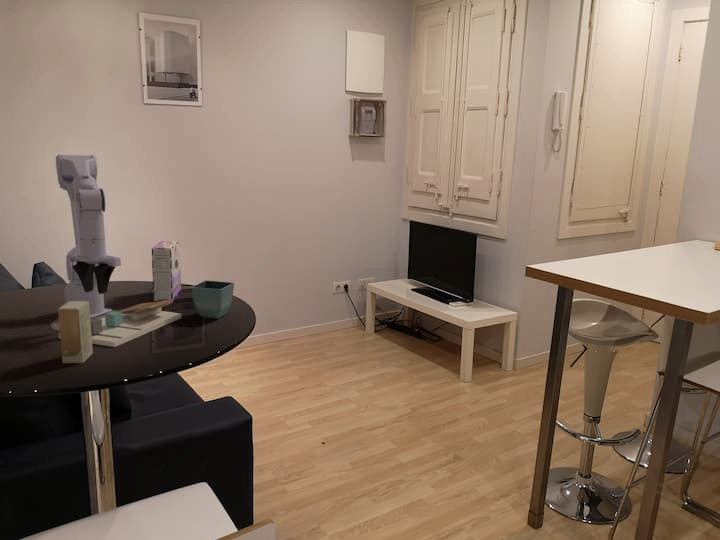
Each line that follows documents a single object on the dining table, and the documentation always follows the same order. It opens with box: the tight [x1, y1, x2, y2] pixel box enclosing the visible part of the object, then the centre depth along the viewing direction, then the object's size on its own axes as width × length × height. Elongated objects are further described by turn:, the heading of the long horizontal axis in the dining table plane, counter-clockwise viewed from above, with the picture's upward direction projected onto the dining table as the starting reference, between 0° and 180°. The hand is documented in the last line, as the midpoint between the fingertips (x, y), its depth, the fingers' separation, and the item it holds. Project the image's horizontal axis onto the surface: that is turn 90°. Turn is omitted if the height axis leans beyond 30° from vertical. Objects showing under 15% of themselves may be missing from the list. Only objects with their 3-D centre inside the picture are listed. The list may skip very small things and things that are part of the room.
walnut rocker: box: [117, 300, 174, 314], centre depth 153 cm, size 11×9×1 cm
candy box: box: [151, 240, 182, 302], centre depth 179 cm, size 14×6×16 cm, turn 6°
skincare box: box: [57, 301, 94, 364], centre depth 124 cm, size 6×4×12 cm
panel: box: [58, 307, 182, 348], centre depth 148 cm, size 16×26×3 cm, turn 162°
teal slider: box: [104, 310, 123, 327], centre depth 145 cm, size 3×3×3 cm
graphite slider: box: [90, 317, 103, 335], centre depth 138 cm, size 3×3×3 cm
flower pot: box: [191, 280, 235, 319], centre depth 159 cm, size 9×9×9 cm
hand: (95, 292), depth 145 cm, fingers open, 4 cm apart
